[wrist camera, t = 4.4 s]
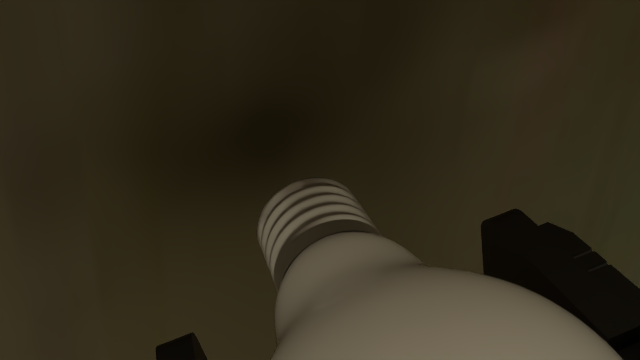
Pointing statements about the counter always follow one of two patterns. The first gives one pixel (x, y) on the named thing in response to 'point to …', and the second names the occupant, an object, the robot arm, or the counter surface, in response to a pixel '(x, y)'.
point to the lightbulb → (395, 294)
